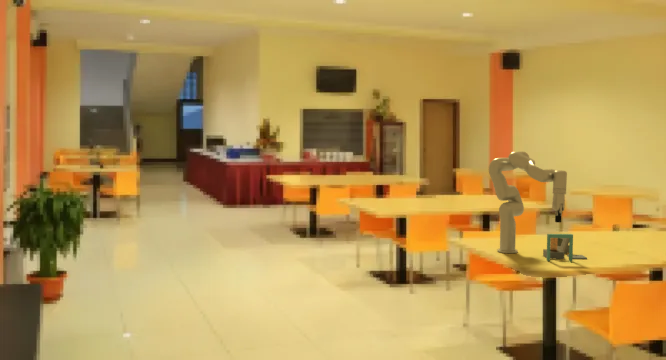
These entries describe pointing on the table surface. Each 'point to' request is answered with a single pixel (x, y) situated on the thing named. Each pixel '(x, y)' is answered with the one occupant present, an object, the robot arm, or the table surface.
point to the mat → (578, 257)
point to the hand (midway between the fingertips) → (558, 222)
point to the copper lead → (553, 245)
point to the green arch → (560, 237)
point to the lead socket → (554, 254)
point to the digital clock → (563, 244)
